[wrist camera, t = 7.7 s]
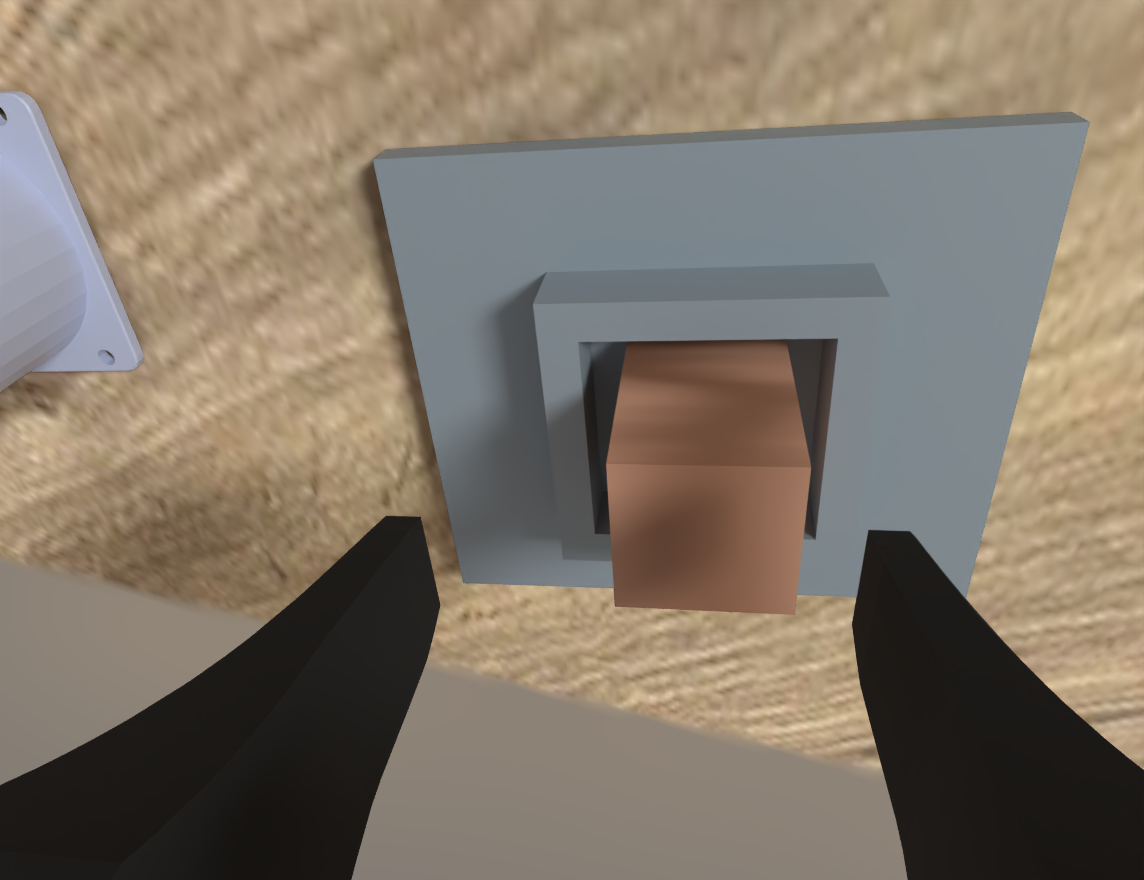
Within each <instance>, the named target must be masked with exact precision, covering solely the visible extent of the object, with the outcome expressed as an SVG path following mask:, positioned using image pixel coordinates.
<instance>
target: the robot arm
mask: <svg viewBox="0 0 1144 880" xmlns="http://www.w3.org/2000/svg"><path fill="white" fill-rule="evenodd" d="M0 108H2V109H3V111H4V112H5V114H6V117H7V121H6V120H5V119H4V118H2V116H1V115H0V392H1V391H3V390H4V389H6V388H7V387H8V386H10V385H11V384H13V383H14V382H16V381H17V380H19V379H20V378H22V377H23V376H24V375H26V374H27V373H29V372H77V371H131V370H134V369H135V368H136V367H138V366H139V365H140V364H141V363H142V362H143V358H144V356H143V352H142V350H141V347H140V345H139V342H138V340H137V338H136V335H135V333H134V331H133V328H132V326H131V323H130V321H129V319H128V316H127V314H126V312H125V309H124V307H123V305H122V302H121V300H120V297H119V295H118V293H117V290H116V288H115V286H114V283H113V281H112V278H111V276H110V274H109V271H108V269H107V267H106V264H105V262H104V260H103V257H102V255H101V252H100V250H99V248H98V245H97V243H96V241H95V238H94V236H93V233H92V231H91V229H90V226H89V224H88V222H87V219H86V217H85V214H84V212H83V210H82V207H81V205H80V203H79V200H78V198H77V196H76V193H75V191H74V188H73V186H72V184H71V181H70V179H69V177H68V174H67V172H66V169H65V167H64V165H63V162H62V160H61V158H60V155H59V153H58V151H57V148H56V146H55V143H54V141H53V139H52V136H51V134H50V132H49V129H48V127H47V124H46V122H45V120H44V117H43V115H42V113H41V110H40V108H39V107H38V105H37V103H36V102H35V101H34V100H33V99H32V98H31V97H30V96H29V95H27V94H25V93H24V92H22V91H16V90H11V91H0ZM106 350H107V351H108V352H110V353H111V354H112V355H113V356H114V358H112V357H111V356H109V354H108V353H107V352H106ZM439 609H440V601H439V597H438V592H437V588H436V583H435V579H434V574H433V570H432V565H431V561H430V557H429V552H428V548H427V543H426V539H425V534H424V530H423V526H422V521H421V517H407V516H386V517H384V518H383V519H382V520H381V521H380V522H379V523H378V524H377V525H376V526H374V527H373V528H372V529H371V530H370V531H369V532H368V533H367V534H366V535H365V536H364V537H363V538H362V539H361V540H360V541H359V542H357V543H356V544H355V545H354V546H353V547H352V548H351V549H350V550H349V551H348V552H347V553H346V554H345V555H344V556H343V557H342V558H341V559H339V560H338V561H337V562H336V563H335V564H334V565H333V566H332V567H331V568H330V569H329V570H328V571H327V572H325V573H324V574H323V575H322V576H321V577H320V578H319V579H318V580H317V581H316V582H315V583H313V584H312V585H311V586H310V587H309V588H308V589H307V590H306V591H305V592H304V593H302V594H301V595H300V596H299V597H298V598H297V599H296V600H294V601H293V602H292V603H291V604H290V605H288V606H287V607H286V608H285V609H284V610H282V611H281V612H280V613H279V614H278V615H276V616H275V617H274V618H273V619H272V620H270V621H269V622H268V623H267V624H266V625H264V626H263V627H262V628H261V629H260V630H258V631H257V632H256V633H255V634H254V635H252V636H251V637H250V638H249V639H247V640H246V641H245V642H244V643H242V644H241V645H240V646H238V647H237V648H236V649H234V650H233V651H232V652H230V653H229V654H228V655H226V656H225V657H223V658H222V659H221V660H219V661H218V662H216V663H215V664H214V665H212V666H211V667H209V668H208V669H206V670H205V671H204V672H203V673H201V674H200V675H198V676H197V677H195V678H194V679H192V680H191V681H189V682H188V683H186V684H185V685H183V686H182V687H180V688H178V689H177V690H175V691H173V692H172V693H170V694H169V695H167V696H165V697H164V698H162V699H161V700H159V701H158V702H156V703H154V704H153V705H151V706H149V707H148V708H146V709H145V710H143V711H141V712H140V713H138V714H136V715H135V716H133V717H132V718H130V719H128V720H127V721H125V722H123V723H122V724H120V725H118V726H116V727H115V728H112V729H111V730H109V731H107V732H106V733H104V734H102V735H100V736H98V737H96V738H95V739H93V740H91V741H89V742H87V743H85V744H83V745H81V746H79V747H77V748H76V749H74V750H72V751H70V752H68V753H66V754H65V755H62V756H60V757H58V758H56V759H54V760H53V761H50V762H49V763H46V764H44V765H42V766H40V767H38V768H36V769H34V770H32V771H30V772H28V773H25V774H23V775H21V776H19V777H17V778H15V779H13V780H11V781H8V782H6V783H4V784H2V785H0V880H351V879H352V875H353V871H354V867H355V863H356V860H357V856H358V852H359V849H360V845H361V842H362V838H363V835H364V831H365V828H366V824H367V820H368V817H369V813H370V810H371V806H372V803H373V800H374V798H375V795H376V792H377V789H378V786H379V783H380V779H381V777H382V775H383V772H384V770H385V767H386V765H387V762H388V759H389V757H390V754H391V752H392V749H393V747H394V744H395V742H396V739H397V736H398V734H399V731H400V729H401V726H402V724H403V721H404V719H405V716H406V714H407V711H408V709H409V706H410V703H411V701H412V698H413V696H414V693H415V690H416V688H417V685H418V682H419V680H420V677H421V675H422V672H423V669H424V667H425V664H426V661H427V658H428V654H429V650H430V647H431V643H432V639H433V635H434V631H435V626H436V622H437V618H438V613H439ZM852 627H853V635H854V643H855V651H856V659H857V666H858V672H859V679H860V685H861V689H862V693H863V697H864V701H865V705H866V709H867V713H868V716H869V720H870V724H871V728H872V732H873V736H874V739H875V743H876V747H877V750H878V754H879V758H880V762H881V765H882V769H883V773H884V777H885V780H886V784H887V788H888V792H889V795H890V799H891V803H892V807H893V810H894V814H895V818H896V822H897V826H898V830H899V835H900V840H901V844H902V848H903V854H904V860H905V866H906V872H907V878H908V880H1144V770H1143V769H1142V768H1140V767H1139V766H1138V765H1137V764H1135V763H1134V762H1133V761H1131V760H1130V759H1129V758H1128V757H1127V756H1125V755H1124V754H1123V753H1122V752H1120V751H1119V750H1118V749H1117V748H1116V747H1114V746H1113V745H1112V744H1111V743H1109V742H1108V741H1107V740H1106V739H1105V738H1104V737H1102V736H1101V735H1100V734H1099V733H1098V732H1097V731H1096V730H1094V729H1093V728H1092V727H1091V726H1090V725H1089V724H1088V723H1087V722H1085V721H1084V720H1083V719H1082V718H1081V717H1080V716H1079V715H1077V714H1076V713H1075V712H1074V711H1073V710H1072V709H1071V708H1069V707H1068V706H1067V705H1066V704H1065V703H1064V702H1063V701H1062V700H1061V699H1060V698H1059V697H1058V696H1057V695H1056V694H1055V693H1054V692H1053V691H1051V690H1050V689H1049V688H1048V687H1047V686H1046V685H1045V684H1044V683H1043V682H1042V681H1041V680H1040V679H1039V678H1038V677H1037V676H1036V675H1035V674H1034V673H1033V672H1032V671H1031V670H1030V669H1029V668H1028V667H1027V666H1026V665H1025V664H1024V663H1023V662H1022V661H1021V660H1020V658H1019V657H1018V656H1017V655H1016V654H1015V653H1014V652H1013V651H1012V650H1011V649H1010V648H1009V647H1008V646H1007V645H1006V644H1005V643H1004V641H1003V640H1002V639H1001V638H1000V637H999V636H998V635H997V634H996V633H995V631H994V630H993V629H992V628H991V627H990V626H989V625H988V624H987V622H986V621H985V620H984V619H983V618H982V617H981V616H980V615H979V614H978V612H977V611H976V610H975V609H974V608H973V607H972V605H971V604H970V603H969V602H968V601H967V600H966V598H965V597H964V596H963V595H962V594H961V593H960V591H959V590H958V589H957V588H956V586H955V585H954V584H953V583H952V582H951V580H950V579H949V578H948V577H947V576H946V574H945V573H944V572H943V571H942V569H941V568H940V567H939V566H938V564H937V563H936V562H935V561H934V559H933V558H932V557H931V556H930V554H929V553H928V552H927V550H926V549H925V548H924V547H923V545H922V544H921V543H920V542H919V540H918V539H917V538H916V537H915V536H914V535H913V534H912V533H911V532H910V531H892V530H868V535H867V541H866V546H865V552H864V558H863V564H862V569H861V575H860V581H859V587H858V593H857V598H856V604H855V610H854V616H853V621H852Z"/></svg>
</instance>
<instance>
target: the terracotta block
mask: <svg viewBox="0 0 1144 880" xmlns="http://www.w3.org/2000/svg"><path fill="white" fill-rule="evenodd" d="M606 470H607V486H608V503H609V519H610V535H611V551H612V568H613V584H614V600H615V607H636V608H658V609H680V610H702V611H724V612H746V613H768V614H790V615H795V608H796V599H797V590H798V581H799V573H800V564H801V555H802V546H803V537H804V528H805V519H806V510H807V501H808V492H809V483H810V474H811V464H810V459H809V453H808V448H807V443H806V438H805V433H804V428H803V423H802V418H801V413H800V407H799V402H798V397H797V392H796V387H795V382H794V377H793V372H792V366H791V361H790V356H789V351H788V346H787V341H786V339H764V340H690V341H627V346H626V352H625V358H624V363H623V369H622V375H621V381H620V387H619V392H618V398H617V404H616V410H615V415H614V421H613V427H612V433H611V439H610V444H609V450H608V456H607V462H606Z"/></svg>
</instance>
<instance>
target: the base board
mask: <svg viewBox="0 0 1144 880" xmlns="http://www.w3.org/2000/svg"><path fill="white" fill-rule="evenodd" d="M1089 123H1090V122H1089V121H1087V120H1085V119H1084V118H1082V117H1080V116H1078V115H1076V114H1074V113H1073V112H1062V113H1044V114H1026V115H1007V116H989V117H971V118H952V119H934V120H915V121H897V122H879V123H860V124H842V125H824V126H805V127H787V128H769V129H750V130H732V131H714V132H695V133H677V134H659V135H640V136H622V137H604V138H585V139H567V140H549V141H530V142H512V143H493V144H475V145H457V146H438V147H420V148H402V149H386V150H385V151H383V152H382V153H381V154H380V155H378V156H377V157H376V158H374V159H373V163H374V168H375V172H376V177H377V182H378V186H379V191H380V196H381V200H382V205H383V210H384V214H385V219H386V224H387V228H388V233H389V238H390V243H391V247H392V252H393V257H394V261H395V266H396V271H397V275H398V280H399V285H400V289H401V294H402V299H403V303H404V308H405V313H406V318H407V322H408V327H409V332H410V336H411V341H412V346H413V350H414V355H415V360H416V364H417V369H418V374H419V378H420V383H421V388H422V392H423V397H424V402H425V407H426V411H427V416H428V421H429V425H430V430H431V435H432V439H433V444H434V449H435V453H436V458H437V463H438V467H439V472H440V477H441V482H442V486H443V491H444V496H445V500H446V505H447V510H448V514H449V519H450V524H451V528H452V533H453V538H454V542H455V547H456V552H457V556H458V561H459V566H460V571H461V575H462V580H463V583H480V584H508V585H536V586H564V587H592V588H614V584H613V568H612V551H611V535H610V519H609V503H608V486H607V470H606V462H607V456H608V450H609V444H610V439H611V433H612V427H613V421H614V415H615V410H616V404H617V398H618V392H619V387H620V381H621V375H622V369H623V363H624V358H625V352H626V346H627V341H690V340H764V339H786V341H787V346H788V351H789V356H790V361H791V366H792V372H793V377H794V382H795V387H796V392H797V397H798V402H799V407H800V413H801V418H802V423H803V428H804V433H805V438H806V443H807V448H808V453H809V459H810V464H811V474H810V483H809V492H808V501H807V510H806V519H805V528H804V537H803V546H802V555H801V564H800V573H799V581H798V590H797V595H815V596H843V597H857V593H858V587H859V581H860V575H861V569H862V564H863V558H864V552H865V546H866V541H867V535H868V530H892V531H910V532H911V533H912V534H913V535H914V536H915V537H916V538H917V539H918V540H919V542H920V543H921V544H922V545H923V547H924V548H925V549H926V550H927V552H928V553H929V554H930V556H931V557H932V558H933V559H934V561H935V562H936V563H937V564H938V566H939V567H940V568H941V569H942V571H943V572H944V573H945V574H946V576H947V577H948V578H949V579H950V580H951V582H952V583H953V584H954V585H955V586H956V588H957V589H958V590H959V591H960V593H961V594H962V595H963V596H964V597H965V598H966V596H967V592H968V588H969V584H970V580H971V576H972V573H973V569H974V565H975V561H976V557H977V553H978V550H979V546H980V542H981V538H982V534H983V530H984V527H985V523H986V519H987V515H988V511H989V507H990V504H991V500H992V496H993V492H994V488H995V484H996V480H997V477H998V473H999V469H1000V465H1001V461H1002V457H1003V454H1004V450H1005V446H1006V442H1007V438H1008V434H1009V431H1010V427H1011V423H1012V419H1013V415H1014V411H1015V408H1016V404H1017V400H1018V396H1019V392H1020V388H1021V385H1022V381H1023V377H1024V373H1025V369H1026V365H1027V361H1028V358H1029V354H1030V350H1031V346H1032V342H1033V338H1034V335H1035V331H1036V327H1037V323H1038V319H1039V315H1040V312H1041V308H1042V304H1043V300H1044V296H1045V292H1046V289H1047V285H1048V281H1049V277H1050V273H1051V269H1052V265H1053V262H1054V258H1055V254H1056V250H1057V246H1058V242H1059V239H1060V235H1061V231H1062V227H1063V223H1064V219H1065V216H1066V212H1067V208H1068V204H1069V200H1070V196H1071V193H1072V189H1073V185H1074V181H1075V177H1076V173H1077V170H1078V166H1079V162H1080V158H1081V154H1082V150H1083V146H1084V143H1085V139H1086V135H1087V131H1088V127H1089Z"/></svg>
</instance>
